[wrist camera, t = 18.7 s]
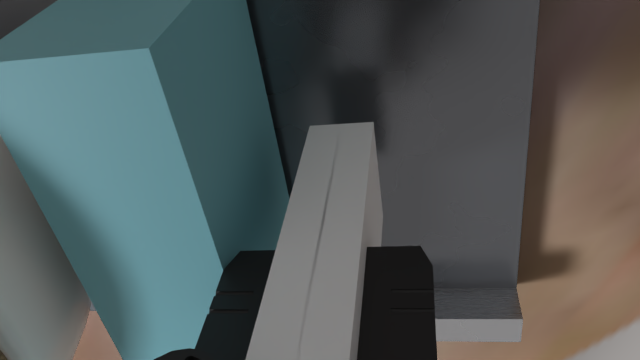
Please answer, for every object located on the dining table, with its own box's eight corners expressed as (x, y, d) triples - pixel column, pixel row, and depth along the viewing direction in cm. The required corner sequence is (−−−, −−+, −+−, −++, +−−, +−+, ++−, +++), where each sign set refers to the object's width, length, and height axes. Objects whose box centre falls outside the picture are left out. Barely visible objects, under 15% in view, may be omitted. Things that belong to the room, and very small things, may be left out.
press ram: (199, 286, 18) (141, 432, 14) (79, -29, 13) (-72, 68, 9) (308, 285, 18) (279, 438, 14) (235, -49, 12) (148, 48, 8)
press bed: (-114, 291, 23) (-224, 404, 19) (-393, -43, 15) (-674, 26, 11) (509, 286, 18) (538, 431, 14) (543, -185, 11) (621, -153, 7)
